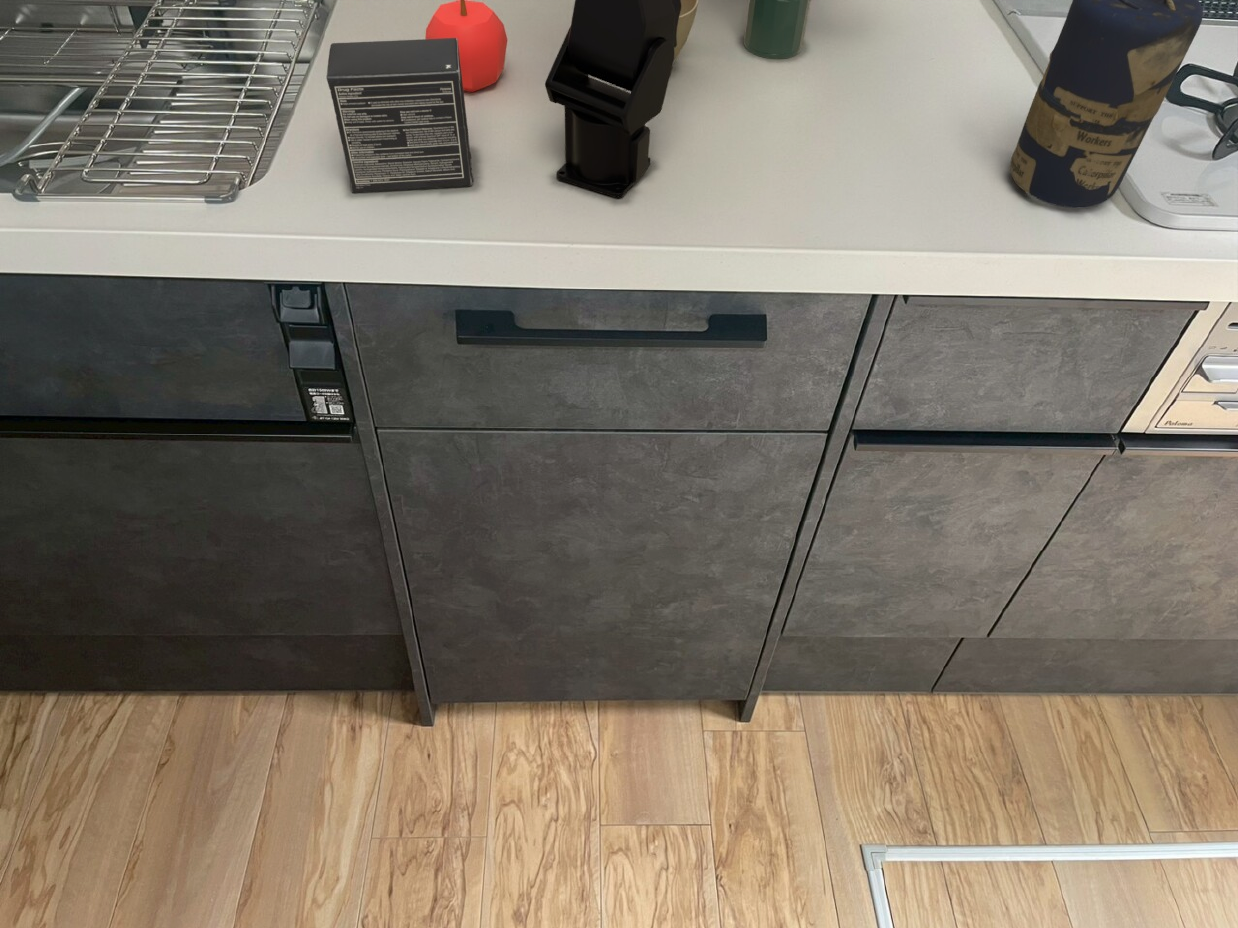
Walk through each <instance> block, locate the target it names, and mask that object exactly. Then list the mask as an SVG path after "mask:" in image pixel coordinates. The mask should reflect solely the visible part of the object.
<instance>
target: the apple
mask: <svg viewBox="0 0 1238 928" xmlns="http://www.w3.org/2000/svg"><path fill="white" fill-rule="evenodd" d="M443 38H457V39H458V48H459V57H460V65H461V74H462V83H463V92H470V93H473V92H477V91H479V90H482V89H485V88H487V87H489V86H491V85H492V84H494V83H496V82H497V81H498V79H499V78H500V76H501V74H502V73H503V71H504V68H505V62H506V54H507V48H508V42H509V41H508V36H507V32H506V28H505V24H504V23H503V21H501V19H500V18H499V17H498V15H497V14H496V12H495V11H494V10H493V9H492V8H490V7H489V6H488V5H486V4H485V3H484V2H482V1H475V0H454V1H450V2H446V3H442V4H440V6H438V8H437V9H436V10H435V12H434V13H433V15H432V17H431V19H430V21H429V23H428V24H427V26H426V28H425V38H424V39H443Z"/></svg>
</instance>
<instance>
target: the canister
mask: <svg viewBox="0 0 1238 928" xmlns="http://www.w3.org/2000/svg"><path fill="white" fill-rule="evenodd" d="M1203 17H1204V11H1203V6H1202V3H1201V2H1200V0H1072V2H1071V4H1070V6H1069V8H1068V11H1067V15H1066V18H1065V20H1064V23H1063V25H1062V28H1061V31H1060V33H1059V36H1058V38H1057V41H1056V43H1055V44H1054V45H1055V46H1054V47H1053V49H1052V51H1051V52H1050V53H1049V57H1048V58H1049V62H1048V64H1047V67H1046V68H1045V71H1044V73H1043V77H1042V78H1041V80H1040V82H1039V84H1038V87H1037V89H1036V92H1035V95H1034V98H1033V99H1032V101H1031V104H1030V108H1029V110H1028V113H1027V115H1026V118H1025V121H1024V123H1023V127H1022V129H1021V133H1020V135H1019V138H1018V141H1017V144H1016V146H1015V149H1014V151H1013V153H1012V155H1011V158H1010V164H1009V165H1010V167H1009V168H1010V173H1011V174H1010V175H1011V177H1012V178H1013V181H1014V183H1015V184H1016V185H1017V186H1018V187H1019V188H1020V189H1022V190H1023V191H1024V192H1025V193H1027V194H1028V195H1030V196H1031V197H1033V198H1036V200H1037V199H1038V200H1039V201H1041V202H1045V203H1048V204H1051V205H1054V206H1059V207H1064V208H1072V209H1081V208H1082V209H1083V208H1090V207H1094V206H1098V205H1101V204H1103V203H1104V202H1107V201H1108V200H1109V199H1111V198H1112V197H1113V196H1114V195H1115V194H1116V193H1117V191H1118V189H1119V188H1120V186H1121V185H1122V182H1123V180H1124V177H1125V176H1126V174H1127V172H1128V170H1129V168H1130V166H1131V164H1132V162H1133V160H1134V158H1135V156H1136V154H1137V153H1138V150H1139V148H1140V146H1141V145H1142V142H1143V141H1144V138H1145V136H1146V134H1147V132H1148V130H1149V128H1150V126H1151V123H1152V122H1153V120H1154V118H1155V116H1156V115H1157V113H1158V112H1159V110H1160V108H1161V107H1162V104H1163V102H1164V100H1165V98H1166V96H1167V94H1168V91H1170V88H1171V86H1172V84H1173V82H1174V80H1175V78H1176V75H1177V74H1178V72H1179V69H1180V67H1181V66H1182V63H1183V61H1184V59H1185V58H1186V56H1187V53H1188V52H1189V49H1190V47H1191V45H1192V44H1193V42H1194V40H1195V37H1196V35H1197V33H1198V31H1199V29H1200V27H1201V24H1202V23H1203V22H1202V21H1203Z"/></svg>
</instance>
